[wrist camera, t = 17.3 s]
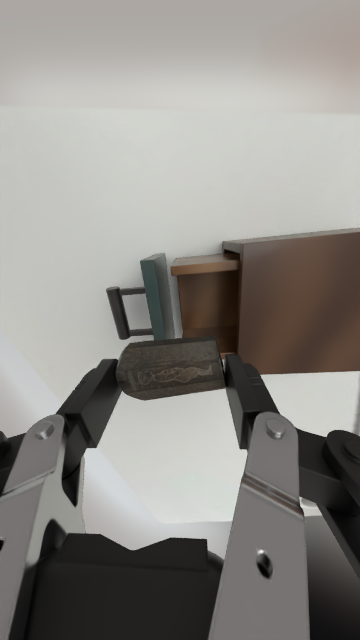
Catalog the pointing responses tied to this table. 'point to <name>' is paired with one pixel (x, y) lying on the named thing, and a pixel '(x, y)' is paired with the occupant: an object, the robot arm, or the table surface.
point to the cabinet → (299, 302)
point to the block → (170, 367)
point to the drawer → (187, 299)
